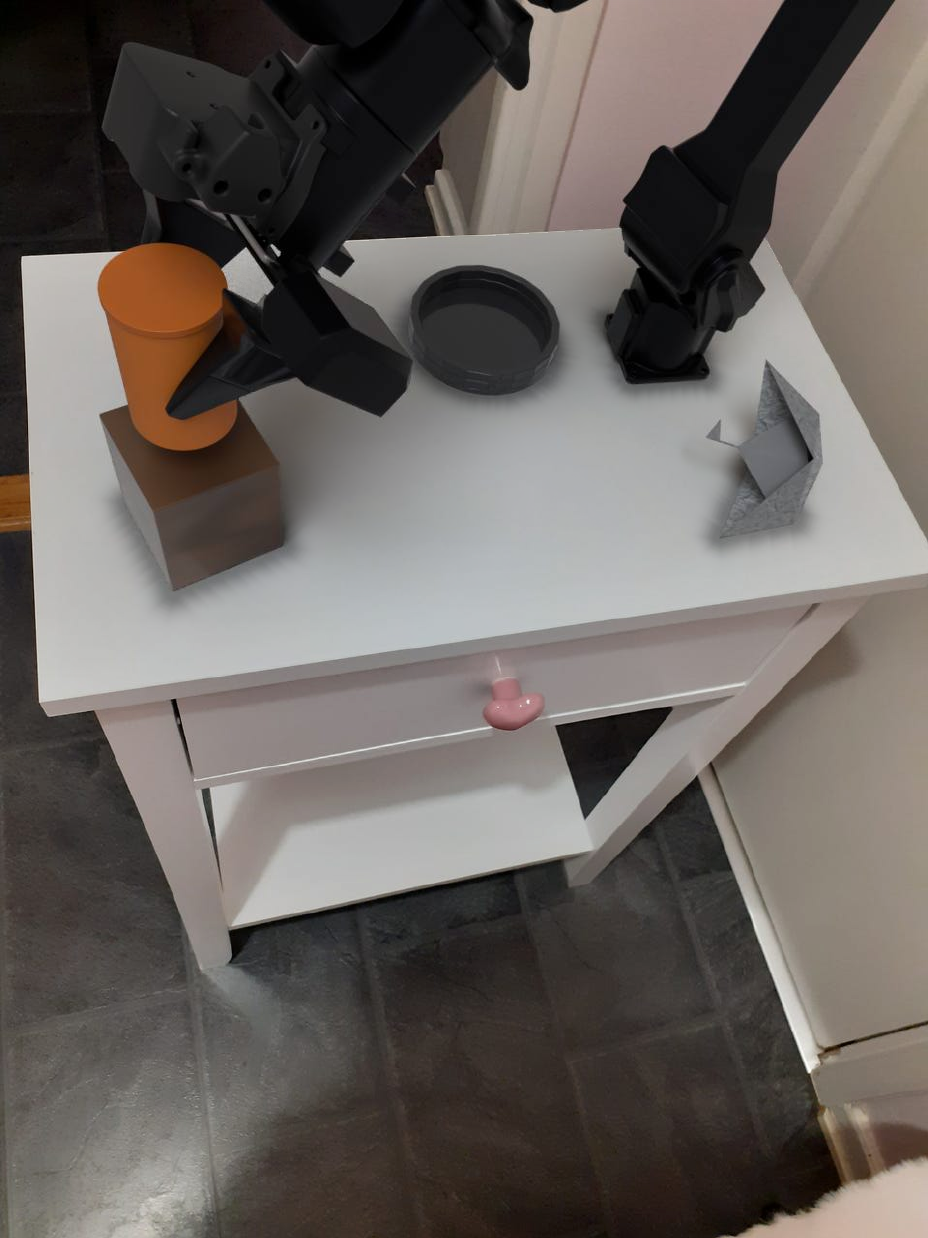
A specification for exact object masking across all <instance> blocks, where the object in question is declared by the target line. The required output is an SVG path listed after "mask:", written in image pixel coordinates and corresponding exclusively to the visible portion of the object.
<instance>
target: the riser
mask: <svg viewBox="0 0 928 1238" xmlns="http://www.w3.org/2000/svg"><path fill="white" fill-rule="evenodd" d="M236 401H237V417H236V420H235V422H234V424H233V426H232V428H231V429H230V431H229V432H228V433H227V434H226V435H225V436H224V437H223V438H222V439H220V440H219V441H217V442H215V443H214V444H211V445H209V446H207V447H204V448H200V449H196V450H184V451H181V450H172V449H167V448H163V447H160V446H158V445H155V444H153V443H152V442H150V441H148V440H147V439H146V438H144V437H143V436H142V435H141V434H140V433H139V432H138V430H137V429H136V428H135V426H134V424H133V422H132V419H131V415H130V411H129V407H128V404H125V405H122V406H119V407H115V408H113V409H109V410H107V411H104V412H101V413H99V415H98V416H99V420H100V423H101V426H102V430H103V434H104V437H105V441H106V444H107V448H108V451H109V454H110V458H111V461H112V465H113V468H114V471H115V476H116V478H117V479H116V480H117V482H118V485H119V489H120V492H121V495H122V496H121V497H122V499H123V502H124V504H125V507H126V508H127V510H128V512H129V514H130V515H131V517H132V520H133V521H134V523H135V525H136V527H137V528H138V530H139V532H140V533H141V535H142V538H143V540H144V541H145V543H146V545H147V547H148V549H149V551H150V552H151V554H152V556H153V559H155V561H156V563H157V565H158V567H159V569H160V570H161V572H162V574H163V576H164V578H165V580H166V581H167V583H168V585H169V587H170V589H171V591H173V592H175V591H177V590H180V589H182V588H184V587H187V586H189V585H191V584H192V585H193V584H194V583H196V582H199V581H201V580H204V579H206V578H208V577H211V576H214V575H216V574H218V573H221V572H223V571H225V570H228V569H230V568H233V567H235V566H238V565H240V564H242V563H244V562H247V561H249V560H252V559H254V558H257V557H259V556H262V555H264V554H267V553H269V552H272V551H273V550H276V549H279V548H282V547H283V545H284V542H283V540H284V539H283V515H282V514H283V513H282V489H281V466H280V465H281V463H280V462H279V460H278V459H277V457H276V456H275V454H274V453H273V451H272V449H271V448H270V446H269V444H268V443H267V442H266V440H265V438H264V436H263V435H262V434H261V432H260V431H259V429H258V428H257V426H256V424H255V422H254V421H253V420H252V418H251V416H250V415H249V413H248V411H247V409H245V406H244V405H243V404H242V401H240V398H238V399H236Z"/></svg>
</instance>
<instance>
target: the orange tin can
mask: <svg viewBox="0 0 928 1238" xmlns="http://www.w3.org/2000/svg"><path fill="white" fill-rule="evenodd" d="M96 287H97V288H96V289H97V295H98V299H99V303H100V305H101V308H102V310H103V311H104V313H105V317H106V322H107V325H108V330H109V334H110V338H111V342H112V346H113V351H114V354H115V358H116V363H117V367H118V370H119V374H120V378H121V379H120V380H121V382H122V386H123V391H124V394H125V395H124V396H125V399H126V402H127V405H128V407H129V411H130V415H131V419H132V422H133V424H134V426H135V428H136V429H137V430H138V432H139V433H140V434H141V435H142V436H143V437H144V438H146V439H147V440H148V441H150V442H152V443H153V444H155V445H158V446H160V447H163V448H167V449H172V450H181V451H184V450H196V449H200V448H204V447H207V446H209V445H211V444H214V443H215V442H217V441H219V440H220V439H222V438H223V437H224V436H225V435H226V434H227V433H228V432H229V431H230V429H231V428H232V426H233V424H234V422H235V420H236V417H237V401H236V399H235V400H233V401H230V402H228V403H226V404H223V405H221V406H218V407H216V408H213V409H211V410H208V411H206V412H204V413H201V414H199V415H196V416H194V417H191V418H189V419H186V420H179V419H176V418H173V417H170V416H168V414H167V413H166V411H165V407H166V405H167V404H168V402H169V400H170V398H171V397H172V395H173V393H174V392H175V390H176V388H177V387H178V385H179V384H180V382H181V381H182V380H183V378H184V377H185V376H186V374H187V373H188V372H189V370H190V369H191V368H192V366H193V365H194V364H195V362H196V361H197V360H198V358H199V357H200V356H201V354H202V353H203V352H204V351H205V349H206V348H207V347H208V345H209V344H210V343H211V341H212V340H213V339H214V337H215V336H216V335H217V333H218V332H219V331H220V329H221V328H222V325H223V308H222V289H223V288H226V289H228V290H229V284H228V280H227V277H226V275H225V272H224V271H223V269H221V268H220V267H219V266H218V264H217V263H216V262H215V261H213V260H212V259H211V258H210V257H208V256H207V255H205V254H204V253H202V252H200V251H198V250H195V249H193V248H190V247H187V246H183V245H178V244H171V243H152V244H145V245H140V244H139V245H137V246H133V247H131V248H128V249H125V250H123V251H122V252H120V253H118V254H117V255H115V256H114V257H113V258H111V259H110V260H109V261H108V262H107V263H106V264H105V265H104V266H103V269H102V270H101V271H100V273H99V276H98V280H97V286H96Z"/></svg>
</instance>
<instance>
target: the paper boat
mask: <svg viewBox="0 0 928 1238" xmlns="http://www.w3.org/2000/svg"><path fill="white" fill-rule="evenodd" d="M764 361H765V362H764V367H763V374H762V381H761V387H760V388H761V389H760V394H759V402H758V407H757V414H756V415H757V416H756V422H755V427H754V428H755V429H754V435H753V437H751V438H749V439H748V440H746V441H744V442H742V443H740V444H739V445H736V444H733V443H730V442H727V441H723V440H721V431H722V419H719V420H718V422H717V423H716V424H715V425H714V427H713V428H712V429H711V430H710V431H709V432H708V434H707V435H706V436H705V437H706V439H709V440H712V441H716V442H718V443H720V444H723V445H727V446H731V447H733V448H736V449H737V450H738V453H739V454H740V455H741V457H742V459H743V461H744V462H745V464H746V466H747V470H746V472H745V475H744V478H743V480H742V481H741V485H740V486H739V490H738V491H737V495H736V497H735V499H734V502H733V504H732V507H731V509H730V512H729V514H728V517H727V519H726V521H725V524H724V526H723V528H722V530H721V533H720V535H719V539H723V538H728V537H732V536H739V535H744V534H749V533H754V532H760V531H765V530H769V529H774V528H781V527H785V526H790V525H793V524H794V522H795V521H796V519H797V518H798V516H799V515H800V513H801V511H802V509H803V508H804V505H805V504H806V501H807V499H808V497H809V495H810V492H811V491H812V489H813V486H814V483H815V481H816V480H817V477H818V475H819V473H820V471H821V469H822V466H823V464H824V462H823V460H824V459H823V447H822V445H823V444H822V430H821V417H820V413H819V412H818V411H817V410H816V409H815V408H814V406H812V405H811V404H810V403H809V402H808V401H807V400H806V399H805V397H803V396H802V394H801V393H799V391H798V390H797V389H796V388H795V387H794V386H793V385H792V384H791V383H790V381H788V380H787V379H786V378H785V377H784V376H783V375H782V374H781V372H780V371H778V370H777V369H776V368H775V367H774V366H773V364H771V362H769V360H768V359H765V360H764Z"/></svg>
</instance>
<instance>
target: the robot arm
mask: <svg viewBox="0 0 928 1238" xmlns="http://www.w3.org/2000/svg"><path fill="white" fill-rule="evenodd" d="M258 1H259V2H260V3H261V4H262V5H263V6H264V7H265V8H267V10H269V12H271V14H273V15H274V16H275V17H276V18H277V19H278V20H279V21H280V22H281V23H283V24H284V25H285V26H286V27H287V28H288V29H289V30H290V31H291V32H292V33H294V35H296V37H298V38H299V39H301V40H303V41H304V42H306V43H307V44H311V46H310V47H309V49H308V50H307V52H306V53H305V55H304V56H303V57H302V58H301V60H300V61H299V63H297V62H295V61H294V59H292V58H291V57H289V55H287V54H286V53H285V52H284V51H283V50H282V49H281V48H278V49H277V50H276V52H275V53H274V55H273V54H266V55H265V56H264V57H263V59H262V60H261V61H260V62H259V64H258V65H257V67H256V68H254V70H253V72H251V73H250V74H249V75H248V76H246V77H244V76H242V75H241V76H240V75H238V74H235V73H231V72H229V71H228V70H225V69H224V68H222V67H219V66H217V65H215V64H212V63H209V62H207V61H203V60H199V59H196V58H192V57H189V56H185V55H182V54H178V53H174V52H171V51H167V50H164V49H160V48H156V47H153V46H149V45H146V44H142V43H139V42H133V41H127V42H124V43H123V44H122V47H121V50H120V54H119V58H118V61H117V66H116V70H115V74H114V78H113V81H112V86H111V90H110V94H109V97H108V100H107V105H106V109H105V112H104V117H103V121H102V125H101V130H102V132H103V133H104V135H105V138H107V140H108V141H111V142H114V144H115V145H116V147H117V148H118V149H119V151H120V153H121V154H122V156H123V158H124V159H125V160H126V162H127V163H128V166H129V173H130V175H131V177H132V178H133V179H134V181H135V182H136V183H137V185H138V186H139V187H141V189H142V193H143V197H144V202H145V205H146V217H145V222H144V227H143V230H142V235H141V240H140V244H139V246H140V245H145V244H152V243H171V244H178V245H183V246H187V247H190V248H193V249H195V250H198V251H200V252H202V253H204V254H205V255H207V256H208V257H210V258H211V259H212V260H213V261H215V262H216V263H217V264H218V266H219V267H220V268H221V270H223V268H224V267H226V266H227V265H228V264H229V263H230V262H231V261H233V259H235V258H236V257H237V256H238V255H240V253H242V251H244V250H245V249H247V251H248V252H249V254H250V255H251V257H252V258H253V259H254V261H255V262H256V264H257V265H258V266H259V268H260V269H261V271H262V272H263V274H264V275H265V277H266V278H267V280H268V281H269V282H270V284H271V285H272V287H273V288H271V290H270V291H269V293H268V294H266V293H265V294H264V295H263V296H262V297H261V298H260V299H259V300H258V302H257V303H256V302H254V301H252V300H250V299H248V298H247V297H244V296H242V295H240V294H239V293H236V292H234V291H232V290H230V289H229V288H228V289H226V288H223V289H222V308H223V325H222V328H221V329H220V331H219V332H218V333H217V335H216V336H215V337H214V339H213V340H212V341H211V343H210V344H209V345H208V347H207V348H206V349H205V351H204V352H203V353H202V354H201V356H200V357H199V358H198V360H197V361H196V362H195V364H194V365H193V366H192V368H191V369H190V370H189V372H188V373H187V374H186V376H185V377H184V378H183V380H182V381H181V382H180V384H179V385H178V387H177V388H176V390H175V392H174V393H173V395H172V397H171V398H170V400H169V402H168V404H167V405H166V407H165V411H166V413H167V414H168V416H170V417H173V418H176V419H179V420H186V419H189V418H191V417H194V416H196V415H199V414H201V413H204V412H206V411H208V410H211V409H213V408H216V407H218V406H221V405H223V404H226V403H228V402H230V401H233V400H235V399H240V398H242V397H245V396H248V395H250V394H252V393H256V392H258V391H260V390H263V389H265V388H268V387H271V386H274V385H277V384H281V383H285V382H288V381H292V380H295V379H298V381H300V382H301V383H302V384H304V385H305V386H306V387H307V388H309V389H312V390H314V391H317V392H319V393H321V394H324V395H326V396H329V397H331V398H333V399H336V400H338V401H339V402H340V401H341V402H343V403H345V404H347V405H350V406H352V407H355V408H357V409H359V410H362V411H364V412H367V413H369V414H371V415H373V416H376V417H378V418H382V417H383V416H384V415H385V414H387V412H388V411H389V410H390V409H391V408H392V407H393V406H394V405H395V404H396V402H398V400H399V399H400V398H402V396H403V395H404V394H405V393H407V391H408V388H409V385H410V383H411V379H412V371H413V370H412V369H413V362H414V360H413V359H412V358H411V355H409V353H408V352H407V351H406V350H405V348H404V346H403V345H402V344H401V343H400V341H399V340H398V338H397V337H396V336H395V334H394V333H393V332H392V330H391V328H390V327H389V326H388V325H387V324H386V323H385V321H384V320H383V318H382V317H381V315H380V314H379V313H378V311H377V309H375V307H373V306H371V305H369V304H368V303H366V302H365V301H363V300H361V299H360V298H358V297H356V296H355V295H353V294H351V293H349V292H347V291H346V290H344V289H342V288H341V287H339V286H337V285H336V284H335V283H333V282H331V281H329V280H327V279H326V278H324V277H322V275H321V273H320V272H319V271H320V270H321V269H322V268H323V269H325V270H327V271H328V272H330V273H331V274H334V275H335V276H337V277H338V278H340V279H341V278H342V277H343V276H344V275H345V273H347V271H348V270H349V269H350V268H351V266H352V265H353V264H354V263H355V262H356V260H355V258H354V257H353V256H352V255H351V254H350V252H349V251H348V249H347V248H346V247H345V245H344V244H345V243H346V242H347V240H348V239H349V238H350V237H351V236H352V234H353V233H354V232H355V231H356V230H357V229H358V227H360V225H361V224H362V223H363V221H365V219H366V218H367V217H368V215H369V214H370V213H371V212H372V211H373V210H374V209H375V207H376V206H377V205H378V204H379V202H381V200H382V199H383V198H384V197H385V195H386V196H387V197H388V198H390V199H391V200H392V201H393V202H394V203H396V204H397V205H398V206H400V208H402V207H403V206H404V205H405V204H406V203H407V201H408V200H409V199H410V198H411V197H412V196H413V194H415V192H416V191H417V190H418V188H417V187H416V186H415V184H414V182H412V180H411V179H409V177H408V176H407V174H406V173H405V172H406V170H407V169H408V168H409V167H410V166H411V165H412V164H413V162H414V161H415V160H416V159H417V158H418V156H419V155H420V154H421V153H422V152H423V151H424V150H425V148H426V147H427V146H428V145H429V143H430V142H431V141H432V140H433V139H434V138H435V136H436V135H437V134H438V133H439V132H440V131H441V129H442V128H443V127H444V126H445V125H446V123H448V121H449V120H450V119H451V118H452V116H453V115H454V114H455V113H456V111H457V110H458V109H459V108H460V107H461V106H462V105H463V104H464V102H465V101H466V100H467V99H468V97H470V95H471V94H472V93H473V91H474V90H475V89H476V88H477V87H478V86H479V85H480V83H481V82H482V81H483V80H484V79H485V77H486V76H487V75H488V74H489V73H490V72H491V70H492V69H493V68H494V69H495V70H496V72H498V73H499V75H500V76H501V77H502V78H503V79H504V81H506V82H507V83H508V84H509V86H510V87H511V88H512V89H513V90H515V91H518V92H521V91H523V90H524V89H525V88H526V87H527V86H528V84H529V82H530V71H531V56H530V55H531V54H530V41H531V40H530V39H531V34H532V31H533V26H534V23H535V19H534V16H533V15H532V14H531V13H530V12H529V11H528V10H527V9H526V8H525V7H524V6H523V5H522V4H521V3H520V1H518V0H258ZM527 2H528V3H529V4H530V5H533V6H536V7H539V8H543V9H546V10H550V11H551V12H552V13H554V14H560V13H563V12H569V11H571V10H573V9H575V8H577V7H579V6H581V5H583V4H585V3H587V2H589V0H527ZM895 2H896V0H783V1H782V3H781V4H780V6H779V8H778V9H777V11H776V12H775V14H774V16H773V17H772V19H771V20H770V22H769V24H768V25H767V27H766V29H765V30H764V32H763V34H762V35H761V37H760V39H759V40H758V42H757V44H756V45H755V47H754V48H753V50H752V52H751V53H750V55H749V57H748V58H747V60H746V62H745V63H744V65H743V67H742V69H741V71H740V72H739V73H738V75H737V77H736V79H735V80H734V82H733V84H732V85H731V87H730V89H729V90H728V91H727V93H726V95H725V97H724V98H723V100H722V102H721V104H720V105H719V107H718V108H717V110H716V112H715V113H714V115H713V117H712V118H711V119H710V121H709V123H707V125H706V127H705V128H704V129H702V130H701V131H699V132H698V133H696V134H693V136H690V137H689V138H687V139H685V140H684V141H682V142H679V144H677V145H675V146H673V147H670V146H668V145H666V144H662V145H660V146H658V147H657V148H656V149H655V150H653V151H652V152H651V153H650V155H649V157H648V159H647V161H646V163H645V166H644V168H643V170H642V172H641V174H640V176H639V178H638V179H637V181H636V182H635V184H634V185H633V187H632V188H631V189H630V191H629V192H628V193H627V194H626V195H625V196H624V197H623V198H622V203H623V204H624V205H625V206H624V208H623V211H622V213H621V215H620V219H619V224H618V228H620V230H621V231H620V232H621V237H622V241H623V251H624V253H625V255H626V256H627V257H628V258H631V259H632V260H633V261H634V262H635V263H636V264H637V266H638V267H637V268H636V270H635V272H634V275H633V278H632V280H631V283H630V285H629V287H628V288H624V289H623V290H622V292H621V293H620V297H619V299H618V301H617V304H616V307H615V310H614V313H613V312H611V313H607V314H606V316H605V318H604V325H605V327H606V330H607V332H606V333H607V336H608V339H609V342H610V344H611V348H612V349H613V353H614V355H615V357H616V358H617V359H618V361H619V364H620V368H621V370H622V372H623V375H624V377H625V379H626V381H627V382H628V383H630V384H645V383H661V382H676V381H677V382H678V381H693V380H705V379H707V378H708V377H709V375H710V373H711V369H710V367H709V365H708V361H707V360H706V358H705V354H706V351H707V349H708V347H709V346H710V344H711V342H712V340H713V337H714V336H715V333H716V332H722V333H725V334H726V333H728V332H731V331H732V330H733V328H734V327H735V325H736V324H737V322H738V320H739V319H740V318H743V317H745V316H747V315H748V314H749V312H751V310H752V309H754V308H755V306H756V304H757V303H758V301H759V300H760V299H761V297H762V296H763V295H764V293H765V292H766V287H765V286H764V284H763V282H762V281H761V278H760V277H759V275H758V274H757V272H756V271H755V269H754V267H753V265H752V264H751V261H752V260H753V258H754V256H755V255H756V253H757V251H758V250H759V248H760V247H761V245H762V243H763V242H764V239H765V238H766V236H767V235H768V233H769V231H770V230H771V227H772V222H773V215H774V206H775V205H774V204H775V198H776V190H777V183H778V175H779V171H780V170H781V168H782V166H783V164H785V162H786V160H787V159H788V158H789V156H790V154H791V153H792V152H793V150H794V149H795V147H796V146H797V145H798V143H799V141H800V140H801V138H802V137H803V136H804V134H805V133H806V131H807V130H808V128H809V127H810V125H811V124H812V123H813V121H814V120H815V119H816V117H817V115H818V114H819V112H820V111H821V110H822V108H823V107H824V105H825V104H826V102H827V101H828V99H829V98H830V96H831V95H832V94H833V92H834V91H835V89H836V87H837V86H838V85H839V83H840V82H841V81H842V79H843V77H844V76H845V74H846V73H847V72H848V70H849V69H850V67H852V64H853V62H855V60H856V58H857V57H858V56H859V54H860V53H861V52H862V50H863V48H864V47H865V45H866V44H867V42H868V41H869V40H870V39H871V36H872V35H873V34H874V33H875V31H876V29H877V28H878V27H879V25H880V24H881V22H882V21H883V19H884V18H885V16H886V15H887V13H888V12H889V11H890V9H891V7H892V6H893V5H894V3H895ZM272 246H274V247H275V249H276V250H277V251H278V252H279V255H278V254H277V253H276V251H275V250H274V248H273V247H272Z"/></svg>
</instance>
